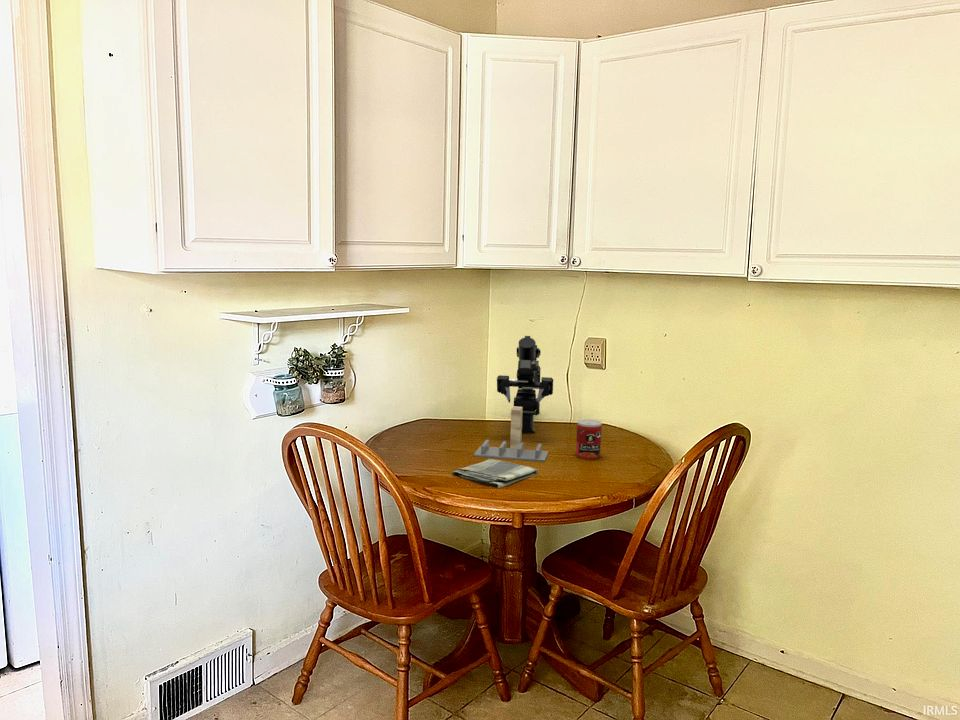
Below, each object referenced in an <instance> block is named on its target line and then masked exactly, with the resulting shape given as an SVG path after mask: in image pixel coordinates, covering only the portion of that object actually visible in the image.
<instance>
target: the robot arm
mask: <svg viewBox="0 0 960 720" xmlns="http://www.w3.org/2000/svg"><path fill="white" fill-rule="evenodd" d="M536 343H537V342H536V340H535V339H533V338H532V337H531V336H530V335H524V337H521V339H519V341H518V346H517V347H516V357H517V358H518V362H517V363H518V364H517V370H516V379H510V375H501V374H500V375H499V374H498V376H497V377H496V388H497V389H496V392H498V393H499V394H501V395H503V396H505V398H506V400H507V402H508V404H510V403H511V391H510V390H511V389H510V387H515V388H518V389H517V392H516V395H515V396H514V397H513V406H516V407H523V410H522V433H529V434H530V433H533V434H534V433H535V434H536V430H535V428H534V417H535V416H539V415H540V410H541V409H540V407H541V406H540V405H541V404H540V402H541V401H542V400H543V399H544V398H546V397H549V396H552V395H553V394H554V379H553V378H552V377H550V376H549V377H546V376H545V377H543V376H542V377H541V369H542V368H541V366H540V365H539V364H540V363H539V362H540V361H539V360H538V359H539V358H540V356H541V349H540V348H539V347H538V345H537V344H536ZM536 390H538V392H536Z"/></svg>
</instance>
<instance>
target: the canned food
mask: <svg viewBox="0 0 960 720" xmlns="http://www.w3.org/2000/svg"><path fill="white" fill-rule="evenodd" d="M576 424H577V425H576V441H575V444H576V445H575V454H576V457H578V458H579V459H582V460H597V459H599V458H600V457H601V450H602V449H601V447H602V433H603V432H602V429H603V422H601V420H598V419H592V418H591V419H590V418H587V419H586V418H584V419H578V420H577V423H576Z"/></svg>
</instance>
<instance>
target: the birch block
mask: <svg viewBox="0 0 960 720" xmlns="http://www.w3.org/2000/svg"><path fill="white" fill-rule="evenodd" d="M522 410H523V407H516V406H514V405H513V406H512V408H511V410H510V412H511V413H510V442H509V444H510V445H509V448H513V449H517V448H518V447H519V445H520V443H521V442H522V438H523V437H522V436H523V434H522Z"/></svg>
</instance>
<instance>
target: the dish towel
mask: <svg viewBox="0 0 960 720" xmlns="http://www.w3.org/2000/svg"><path fill="white" fill-rule="evenodd" d="M538 473H539V471H538V469H537V468H534V467H531V466H528V465H521V464H517V463H513V462H509V461H504V460H500V459H495V458H488V459H486V460H484V461H482V462H478V463H474V464H473V463H472V464H470V465H468V466H465V467H459V468H457V470H453V471H452V472H451V475H452V476H457V477H459V476H460V477H459V478H463V479H465V480H468V481H472V482H473V481H475V482H476V483H479V484H482V485H483V486H492V487H495V488H497V489H501V488H504V487H506V486H507V487H508V486H509V485H512V484H514V483H516V482H520V481H521V480H522V481H523V480H525V479H527V478H530V477H532V476H533V477H534V476H535V475H537V474H538ZM454 474H455V475H454Z"/></svg>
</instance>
